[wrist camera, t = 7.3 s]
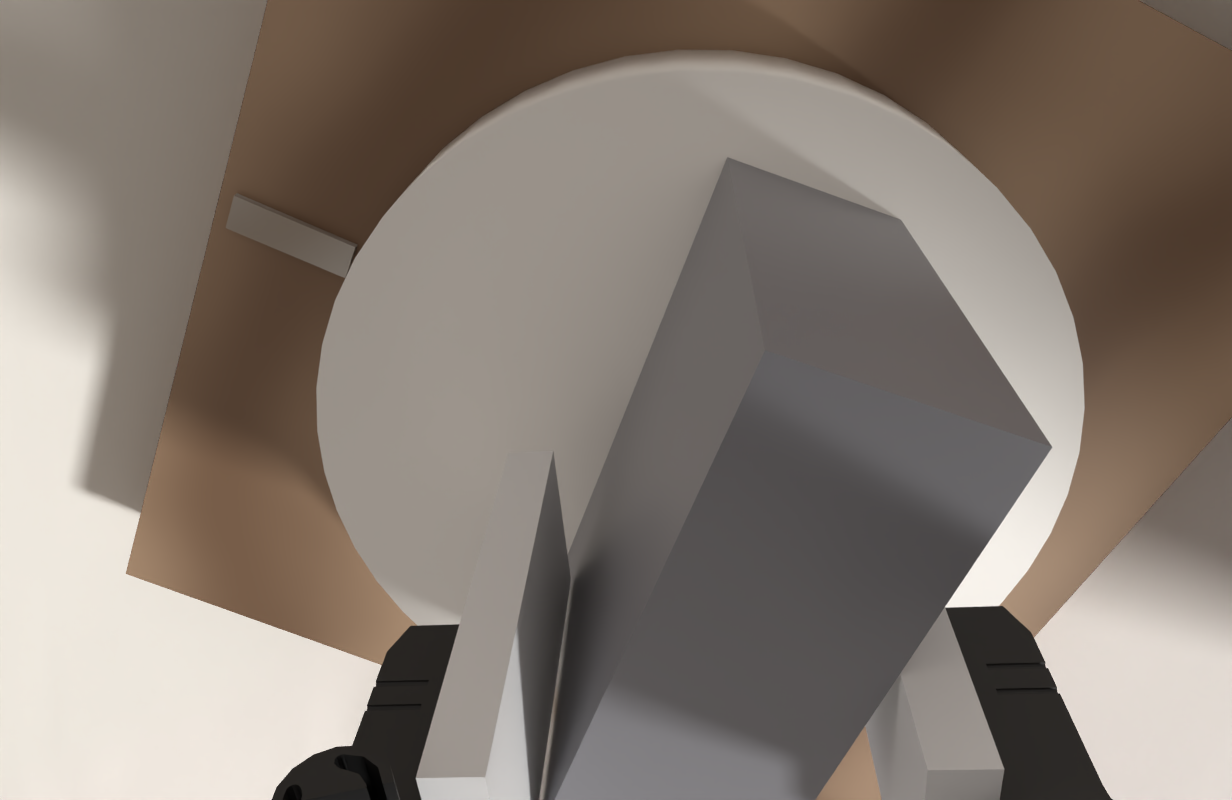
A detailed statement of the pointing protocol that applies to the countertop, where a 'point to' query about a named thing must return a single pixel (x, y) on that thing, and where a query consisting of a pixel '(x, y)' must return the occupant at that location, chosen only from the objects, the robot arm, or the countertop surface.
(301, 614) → the dial base
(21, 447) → the countertop surface
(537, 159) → the dial
